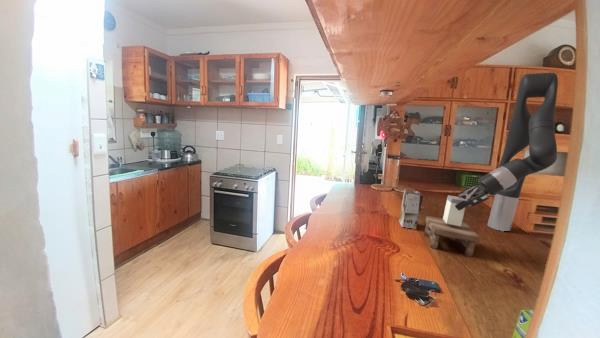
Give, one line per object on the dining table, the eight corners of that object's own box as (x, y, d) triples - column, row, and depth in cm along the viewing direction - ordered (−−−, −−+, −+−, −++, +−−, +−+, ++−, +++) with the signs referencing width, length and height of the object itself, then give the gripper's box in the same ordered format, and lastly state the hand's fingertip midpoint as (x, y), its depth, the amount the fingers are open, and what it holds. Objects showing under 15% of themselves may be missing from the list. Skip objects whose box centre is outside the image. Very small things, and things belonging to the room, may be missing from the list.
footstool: (422, 233, 113) (426, 215, 111) (460, 240, 109) (465, 222, 108) (430, 248, 98) (434, 228, 97) (474, 257, 95) (479, 237, 93)
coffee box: (416, 230, 115) (423, 195, 112) (401, 227, 116) (408, 193, 114) (412, 223, 124) (418, 190, 121) (398, 220, 125) (404, 188, 122)
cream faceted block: (442, 218, 105) (447, 195, 104) (456, 221, 104) (461, 197, 102) (446, 223, 100) (452, 198, 98) (460, 226, 99) (466, 201, 97)
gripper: (482, 169, 103) (443, 193, 108) (499, 176, 89) (453, 203, 94) (494, 185, 103) (454, 208, 108) (513, 193, 89) (466, 220, 94)
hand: (454, 205), depth 101 cm, fingers closed on cream faceted block, 5 cm apart
